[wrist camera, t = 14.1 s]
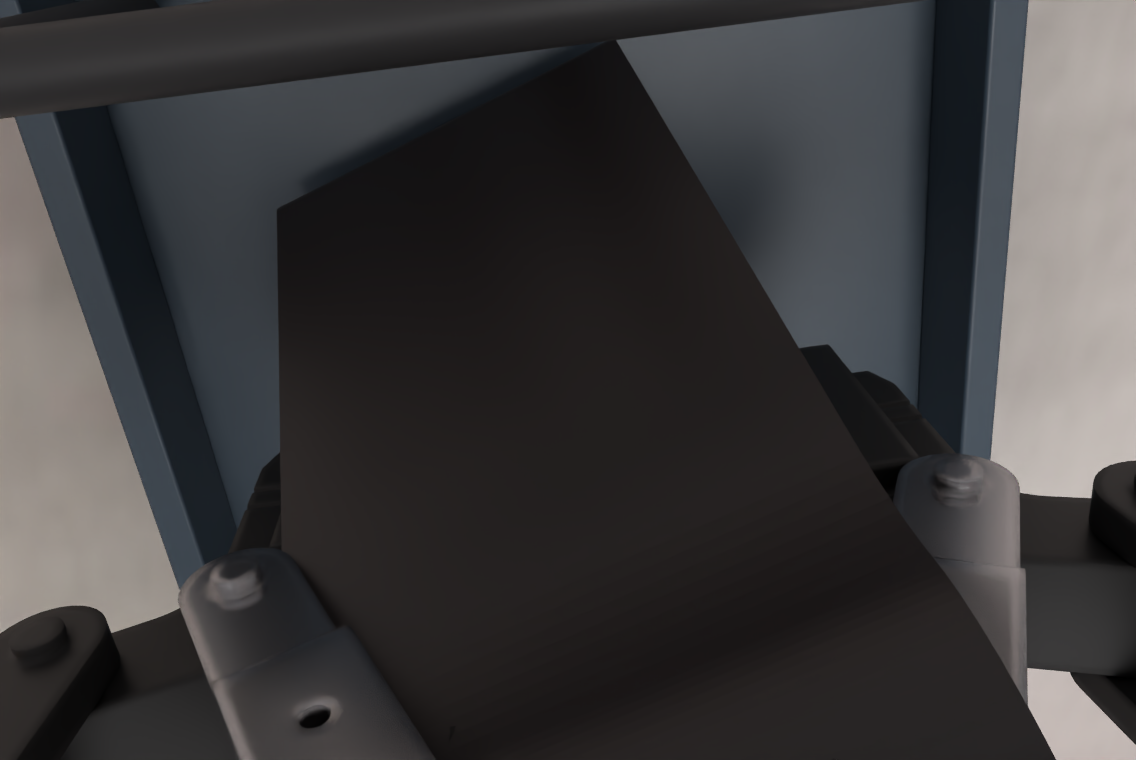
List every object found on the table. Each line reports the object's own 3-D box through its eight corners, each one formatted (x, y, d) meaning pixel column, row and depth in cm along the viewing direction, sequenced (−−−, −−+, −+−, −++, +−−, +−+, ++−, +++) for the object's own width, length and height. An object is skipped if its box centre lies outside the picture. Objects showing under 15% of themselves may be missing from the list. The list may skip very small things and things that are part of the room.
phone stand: (802, 475, 19) (1218, 1204, 8) (524, 596, 20) (571, 1414, 9) (614, 33, 15) (925, 302, 5) (280, 200, 16) (-140, 777, 5)
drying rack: (292, 739, 24) (201, 1130, 16) (-14, -242, 15) (-529, -405, 7) (913, 651, 24) (1113, 994, 16) (962, -360, 15) (1435, -631, 8)
